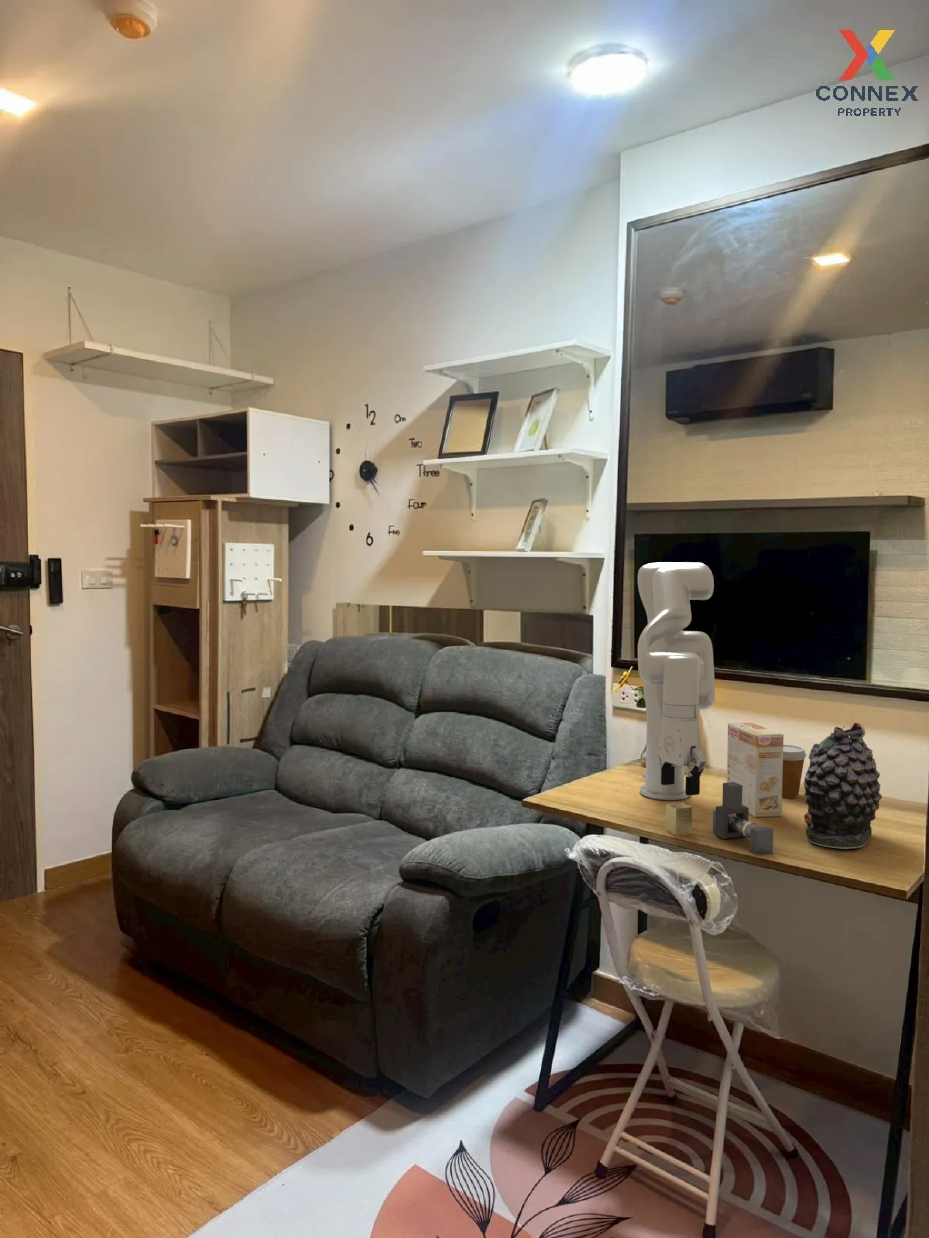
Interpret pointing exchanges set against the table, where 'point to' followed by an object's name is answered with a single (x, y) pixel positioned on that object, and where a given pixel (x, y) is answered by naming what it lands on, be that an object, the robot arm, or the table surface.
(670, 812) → the pale yellow rectangular block
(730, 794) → the grey bracket
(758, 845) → the grey shaft with blocks
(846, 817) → the pinecone sculpture
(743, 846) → the table surface
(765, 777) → the coffeecake box
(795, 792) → the disposable coffee cup
